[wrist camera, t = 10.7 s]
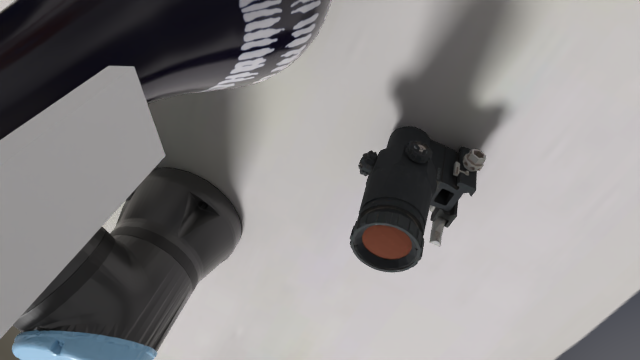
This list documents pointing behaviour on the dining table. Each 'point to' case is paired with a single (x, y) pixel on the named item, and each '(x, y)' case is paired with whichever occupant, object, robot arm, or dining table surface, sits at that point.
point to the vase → (146, 46)
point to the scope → (409, 197)
